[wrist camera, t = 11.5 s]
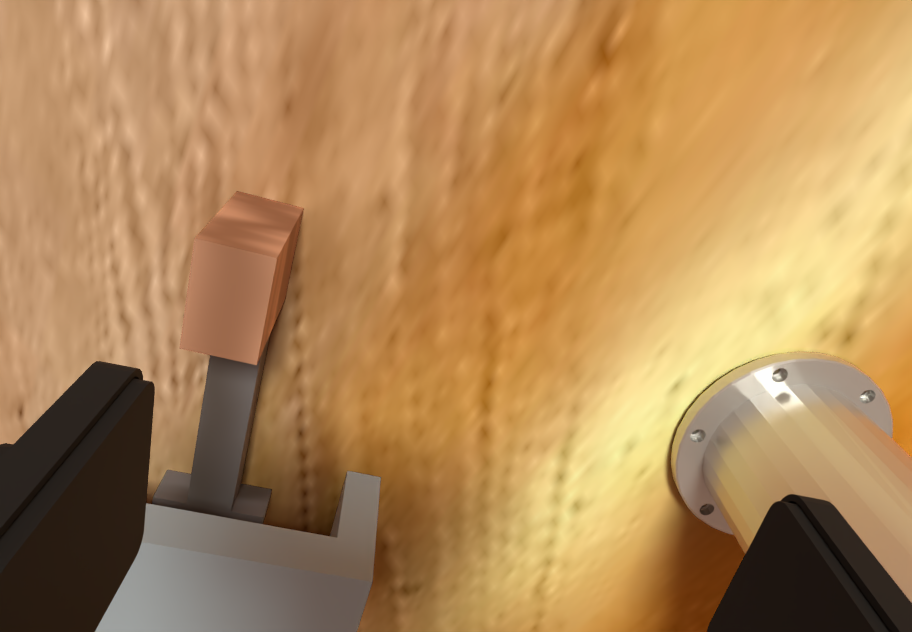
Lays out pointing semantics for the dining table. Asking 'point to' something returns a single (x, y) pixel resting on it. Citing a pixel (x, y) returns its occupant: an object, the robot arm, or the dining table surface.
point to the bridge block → (250, 572)
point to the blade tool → (232, 348)
